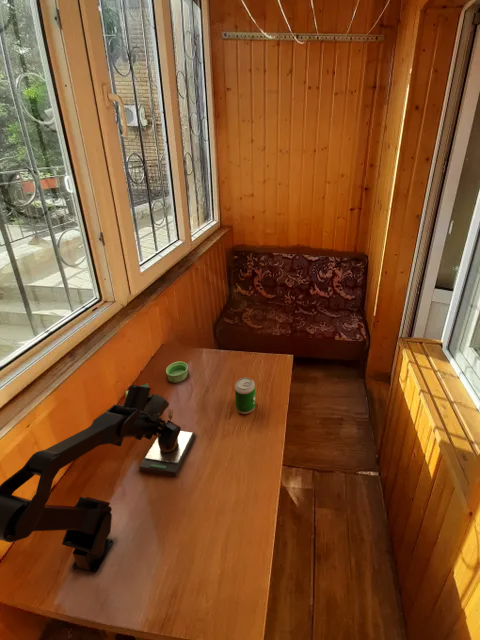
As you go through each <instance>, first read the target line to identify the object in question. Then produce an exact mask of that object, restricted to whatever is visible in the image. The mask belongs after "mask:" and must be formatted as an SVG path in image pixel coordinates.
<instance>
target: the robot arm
mask: <svg viewBox="0 0 480 640" xmlns="http://www.w3.org/2000/svg"><path fill="white" fill-rule="evenodd" d="M148 387H149V386H148ZM148 387H143V386H141V385H136V384H130V385H129V388H128V390H129V391H128V390H127V391H128V394H127V397H125V400H124V403H123V404H113V405H112V406H111V407H110V408H108V409H107V410H106V411H105V412H103V413H101V414H100V415H99V416H97V417H96V418H95V419H93V420H92V423H91V425H90V426H88V427H87V428H84V429H83V430H80V431H79V432H77V433H75V434H73V435H71V436H69V437H66V438H65V439H64V440H61V441H59V442H57V443H56V444H53V445H52V446H50V447H47V448H45V449H42V450H38V451H35V452H34V453H33V454H32V455H31V456H30V458H29V459H28V460H27V461H26V462H25V464H24V465H23V466H22V467H21V468H20V469H18V470H17V471H16V472H14V473H13V474H12V475H11V476H10V477H8V478H7V479H6V480H4V481H3V482H2V483H1V484H0V541H3V542H6V543H9V544H10V543H14V542H18V541H21V540H24V539H27V538H29V537H30V535H31V534H32V533H33V532H50V531H51V532H55V531H65V534H64V537H63V539H62V543H61V546H65V547H69V548H72V549H74V550H73V551H72V556H73V558H74V562H73V563H72V569H73V570H77V571H81V572H86V573H91V574H96V573H98V571H99V570H100V568H101V566H102V565H103V563H104V561H105V559H106V557H107V555H108V553H109V552H110V550H111V548H112V546H113V544H114V539H111V538H108V537H109V536H110V534H111V530H112V519H113V514H112V509H113V508H112V507H111V506H110V505H111V502H109V501H105V500H100V499H97V498H93V497H89V496H87V497H83V496H79V498H78V500H77V502H76V503H75V505H73V506H71V505H57V504H47V503H48V501H49V499H50V495H51V491H52V487H53V483H54V479H55V477H56V476H57V474H58V473H59V472H60V470H61V469H63V468H64V467H66V466H68V465H69V464H71V463H73V462H75V461H76V460H78V459H79V458H81V457H82V456H84V455H86V454H87V453H90V451H92V450H94V449H96V448H97V447H100V446H104V445H114V446H117V447H121V446H122V444H123V441H124V438H135V439H136V440H138V441H141V440H142V439H143V438H145V439H147V440H152V438H153V436H154V437H156V436H158V433H159V434H160V438H159V440H158V445H160V446H161V447H163V448H164V449H166V450H171V449H173V447H174V445H175V442H176V440H177V438H178V436H179V433H180V431H182V427H181V426H180V425H178V424H176V423H174V422H173V421H172V420H171V421H170V419H167V420H163V418H162V417H161V416H162V415H163V414H164V412H165V411H166V409H167V408H169V406H170V403H169V402H168V400H166V398H164V397H163V396H162V395H159V394H157V393H156V394H155V393H152V394H151V390H152V388H151V387H149V388H148ZM149 393H150V395H149ZM34 476H39V479H38V484H37V486H36V491H35V494H34V495H33V497H32V498H31V499H28V498H25V497H21V496H17V495H13V494H14V493H15V491H17V490H18V489H19V488H20V487H22V486H23V485H24V484H25V483H27V482H28V481H29V480H31V479H32V478H33V477H34Z"/></svg>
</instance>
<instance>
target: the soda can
mask: <svg viewBox="0 0 480 640" xmlns="http://www.w3.org/2000/svg"><path fill="white" fill-rule="evenodd" d="M234 398H235V409H236V410H237V412H238V413H240V414H243V415H246V414H250V413H252V412H253V411H254V410H255V408H256V404H257V403H256V382H255V381H254V380H253V379H252V378H250V377H241V378H240V379H238V380H237V381H236V382H235V384H234Z"/></svg>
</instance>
